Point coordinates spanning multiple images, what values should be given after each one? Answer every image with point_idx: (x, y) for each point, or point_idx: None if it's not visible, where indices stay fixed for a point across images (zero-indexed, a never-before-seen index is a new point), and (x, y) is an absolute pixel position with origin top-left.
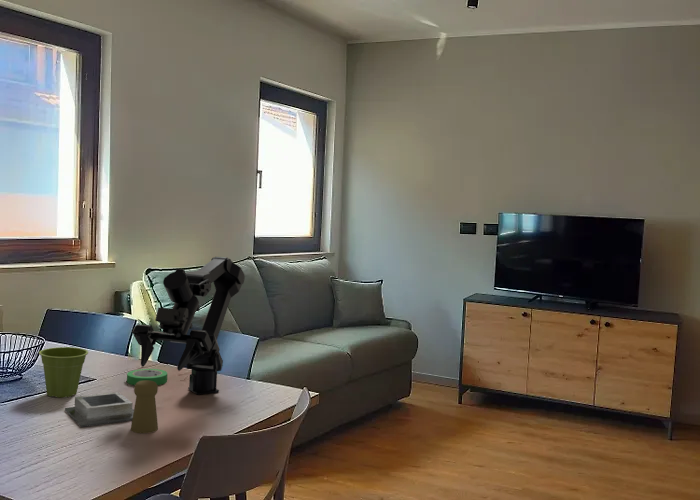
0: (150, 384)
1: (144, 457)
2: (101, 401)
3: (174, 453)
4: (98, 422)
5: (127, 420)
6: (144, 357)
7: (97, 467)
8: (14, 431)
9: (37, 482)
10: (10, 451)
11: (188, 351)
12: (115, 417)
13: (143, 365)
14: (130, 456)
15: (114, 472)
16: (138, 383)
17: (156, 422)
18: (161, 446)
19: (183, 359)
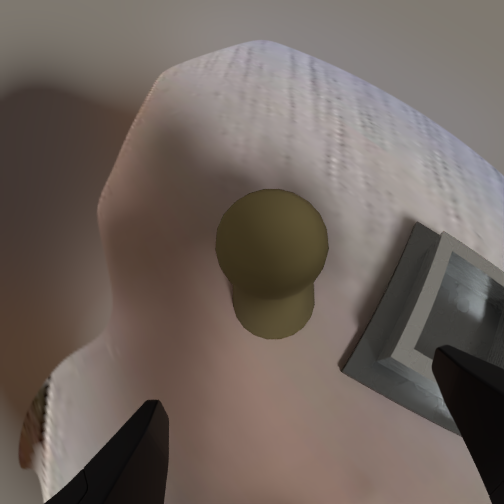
0: (232, 213)
1: (164, 158)
2: (496, 359)
3: (119, 200)
4: (402, 256)
5: (365, 330)
6: (466, 372)
7: (216, 101)
8: (469, 157)
9: (256, 56)
10: (386, 96)
11: (59, 498)
12: (400, 314)
13: (434, 365)
14: (192, 149)
15: (180, 103)
16: (291, 196)
17: (234, 302)
18: (160, 216)
19: (107, 445)
